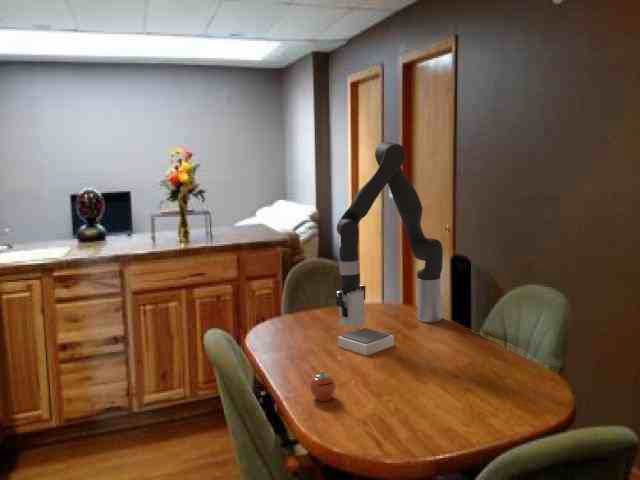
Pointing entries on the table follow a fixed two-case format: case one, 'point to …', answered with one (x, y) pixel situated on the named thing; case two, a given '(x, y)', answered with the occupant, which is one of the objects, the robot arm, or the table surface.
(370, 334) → the stack base
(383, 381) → the table surface
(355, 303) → the small box
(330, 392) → the tomato
